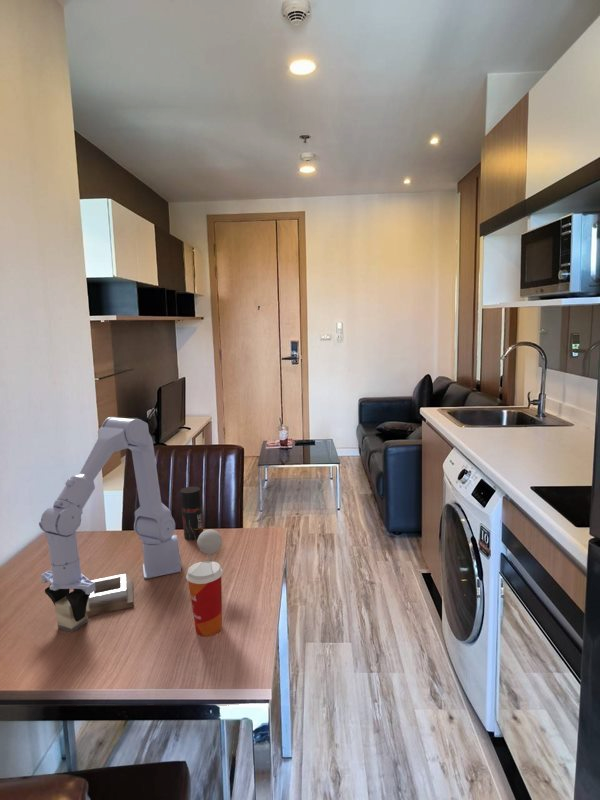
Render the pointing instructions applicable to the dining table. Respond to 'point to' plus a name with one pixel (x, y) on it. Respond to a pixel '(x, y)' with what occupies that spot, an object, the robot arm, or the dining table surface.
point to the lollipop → (209, 542)
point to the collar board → (110, 595)
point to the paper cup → (206, 597)
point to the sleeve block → (67, 616)
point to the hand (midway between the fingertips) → (72, 616)
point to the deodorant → (191, 512)
